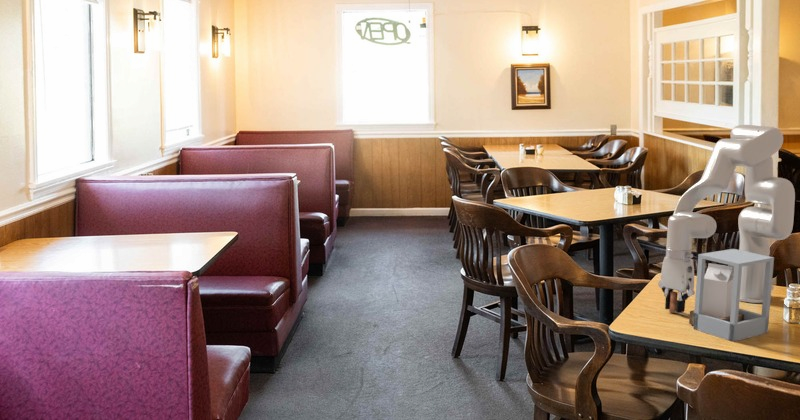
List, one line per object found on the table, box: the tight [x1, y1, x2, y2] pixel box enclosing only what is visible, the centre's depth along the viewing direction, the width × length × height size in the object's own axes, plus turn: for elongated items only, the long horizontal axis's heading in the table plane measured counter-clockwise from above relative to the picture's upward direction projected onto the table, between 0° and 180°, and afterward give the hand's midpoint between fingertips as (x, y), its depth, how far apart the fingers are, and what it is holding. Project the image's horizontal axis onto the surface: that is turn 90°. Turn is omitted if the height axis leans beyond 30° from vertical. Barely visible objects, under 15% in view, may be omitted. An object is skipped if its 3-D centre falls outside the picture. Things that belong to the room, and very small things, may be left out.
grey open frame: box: [692, 248, 775, 342], centre depth 252 cm, size 16×14×23 cm
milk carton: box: [702, 263, 734, 319], centre depth 257 cm, size 7×7×19 cm
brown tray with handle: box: [668, 290, 744, 326], centre depth 263 cm, size 12×23×6 cm, turn 32°
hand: (674, 309), depth 271 cm, fingers closed on brown tray with handle, 3 cm apart
